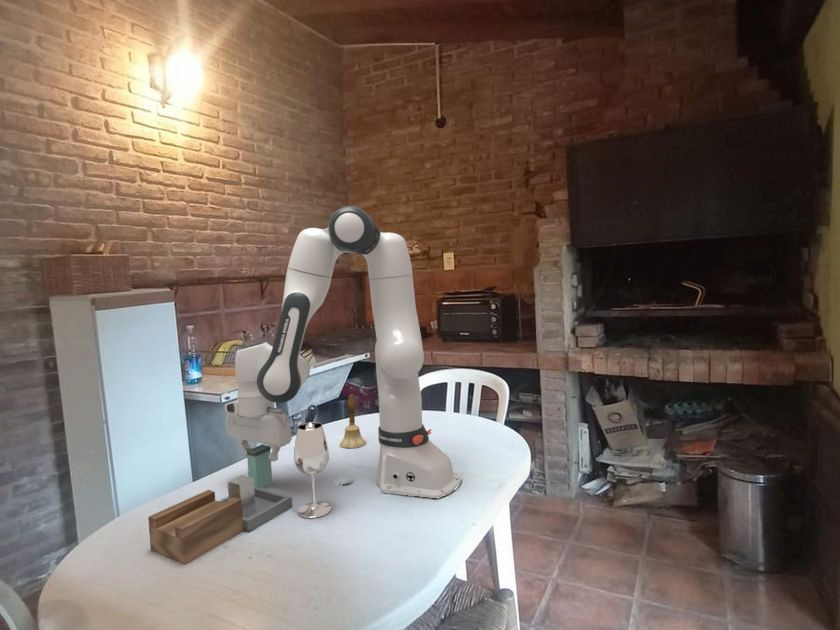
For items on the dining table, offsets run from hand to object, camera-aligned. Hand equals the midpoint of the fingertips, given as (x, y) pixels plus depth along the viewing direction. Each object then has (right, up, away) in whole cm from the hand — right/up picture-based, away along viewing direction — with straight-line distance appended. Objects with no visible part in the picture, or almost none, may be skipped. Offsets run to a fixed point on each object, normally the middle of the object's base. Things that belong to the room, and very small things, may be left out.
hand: (260, 457), depth 132 cm
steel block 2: (0, -7, -17) cm, 19 cm away
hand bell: (+20, -4, +31) cm, 37 cm away
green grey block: (0, -8, +1) cm, 8 cm away
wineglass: (+17, -9, -14) cm, 23 cm away
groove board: (-5, -10, -25) cm, 28 cm away
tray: (+2, -9, -14) cm, 16 cm away
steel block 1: (+1, -4, -16) cm, 16 cm away
